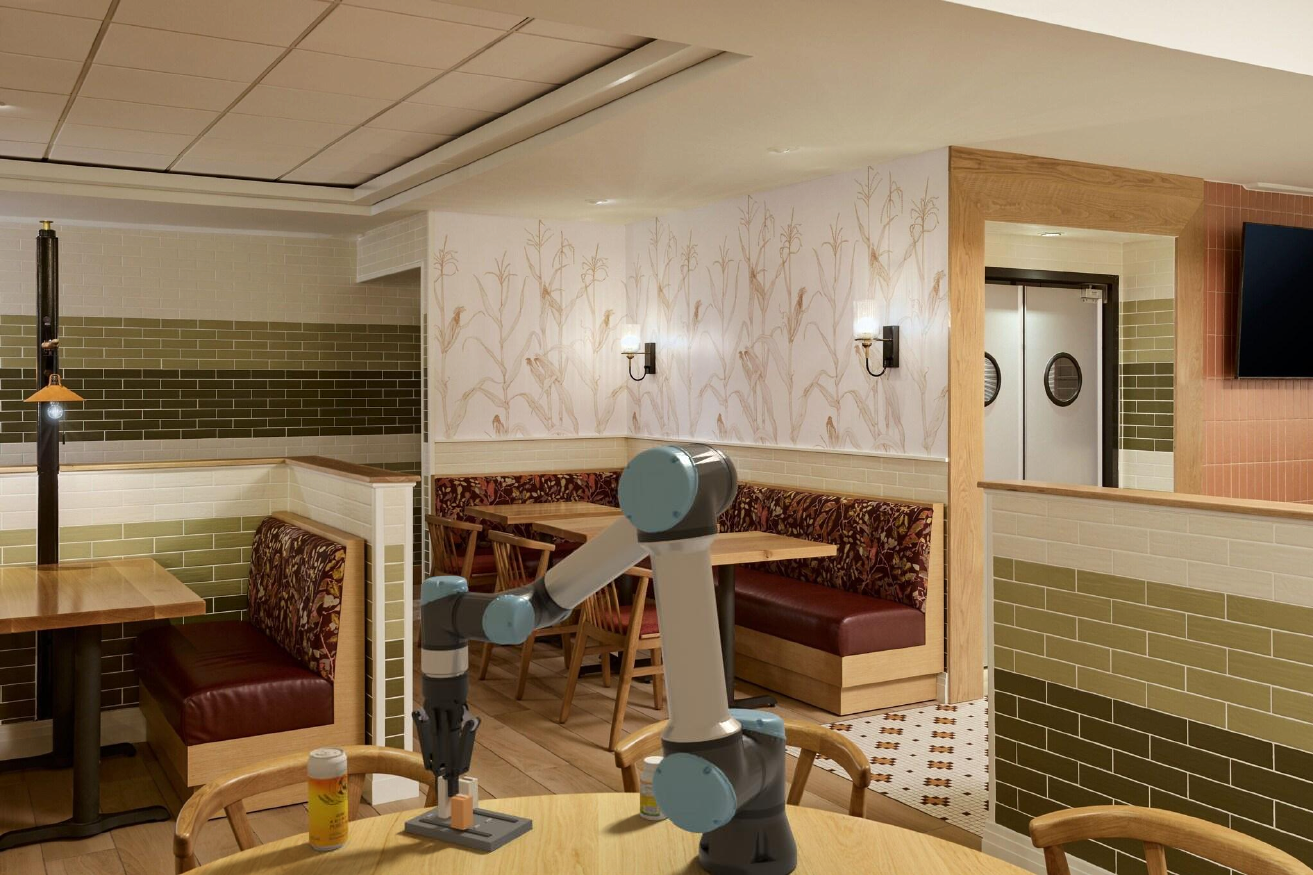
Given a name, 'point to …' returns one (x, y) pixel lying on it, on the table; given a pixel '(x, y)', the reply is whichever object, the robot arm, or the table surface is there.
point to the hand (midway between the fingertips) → (447, 814)
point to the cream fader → (469, 788)
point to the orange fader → (461, 811)
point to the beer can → (327, 798)
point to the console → (471, 828)
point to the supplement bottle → (649, 790)
